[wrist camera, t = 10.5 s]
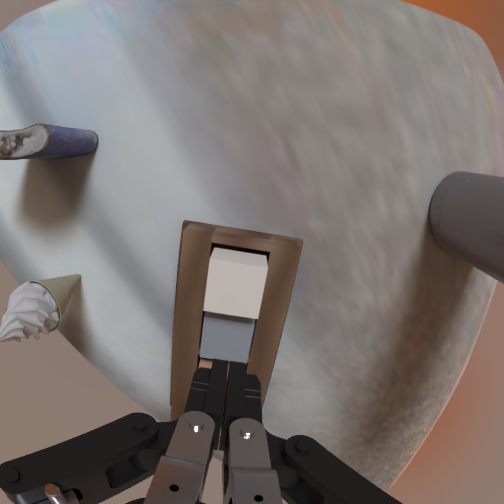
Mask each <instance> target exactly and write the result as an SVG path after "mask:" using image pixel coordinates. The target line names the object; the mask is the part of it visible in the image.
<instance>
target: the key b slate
mask: <svg viewBox="0 0 504 504" xmlns="http://www.w3.org/2000/svg"><path fill="white" fill-rule="evenodd" d="M254 326H255V319H253V318H246V317H240V316H233V315H227V314H221V313H214V312H208V311H206V312H205V315H204V322H203V331H202V340H201V349H200V357H203V358H209V359H213V358H216V359H222V360H229V362H230V361H237V362H244V363H246V364H247V360H248V355H249V350H250V345H251V340H252V336H253V331H254Z"/></svg>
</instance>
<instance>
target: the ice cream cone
mask: <svg viewBox="0 0 504 504" xmlns="http://www.w3.org/2000/svg"><path fill="white" fill-rule="evenodd" d="M80 278H81V275H80V274H75V275H69V276H63V277H57V278H51V279H45V280H39V281H33V280H31V281H27V282H25V283H24V284H23V285H21V286H20V287H18V288H16V289H15V290H14V292H13V293H12V294H11V295H10V298H9V303H8V309H7V312H6V314H5V315H4V316H3V317H2V324H1V327H0V343H1V342H7V341H13V340H15V341H19V342H21V340H20V338H21V337H22V338H25V337H26V338H27V339H29V336H30V335H34V337H35V339H37V340H38V339H39V338H40V336H39V333H40V332H43V333H44V334H47V335H48V334H49V332H51V331H54V330H56V329H57V328H58V326H59V324H60V321H61V317H62V315H63V313H64V311H65V308H66V306H67V304H68V302H69V300H70V298H71V296H72V294H73V292H74V290H75V288H76V286H77V284H78V282H79V280H80Z"/></svg>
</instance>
